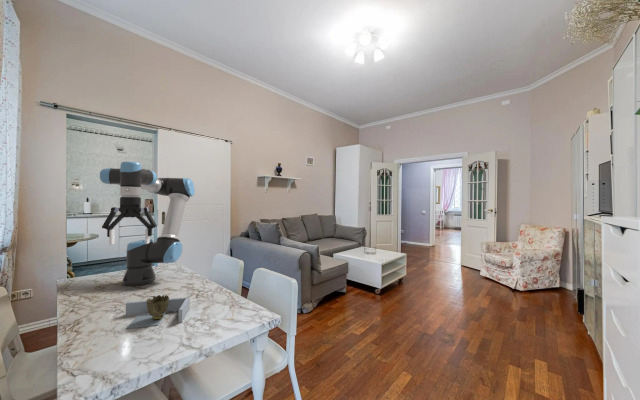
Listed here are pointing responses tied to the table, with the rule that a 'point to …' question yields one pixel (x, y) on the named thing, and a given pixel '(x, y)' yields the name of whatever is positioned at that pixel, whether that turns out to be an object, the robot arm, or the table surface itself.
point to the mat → (144, 321)
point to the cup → (157, 306)
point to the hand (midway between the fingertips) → (130, 244)
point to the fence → (173, 305)
